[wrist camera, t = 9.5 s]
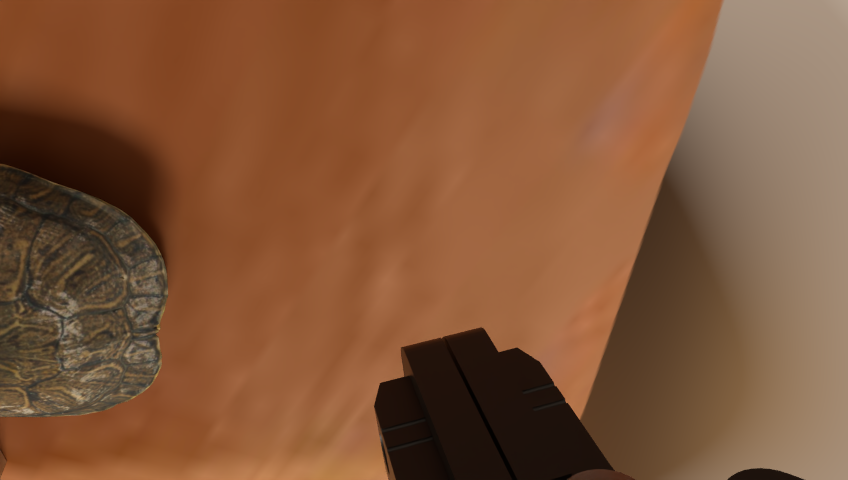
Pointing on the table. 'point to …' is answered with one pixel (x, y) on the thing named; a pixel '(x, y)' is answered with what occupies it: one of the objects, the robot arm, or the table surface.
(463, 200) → the table surface
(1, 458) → the oak overhang
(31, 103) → the table surface
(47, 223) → the turtle shell
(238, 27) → the table surface
